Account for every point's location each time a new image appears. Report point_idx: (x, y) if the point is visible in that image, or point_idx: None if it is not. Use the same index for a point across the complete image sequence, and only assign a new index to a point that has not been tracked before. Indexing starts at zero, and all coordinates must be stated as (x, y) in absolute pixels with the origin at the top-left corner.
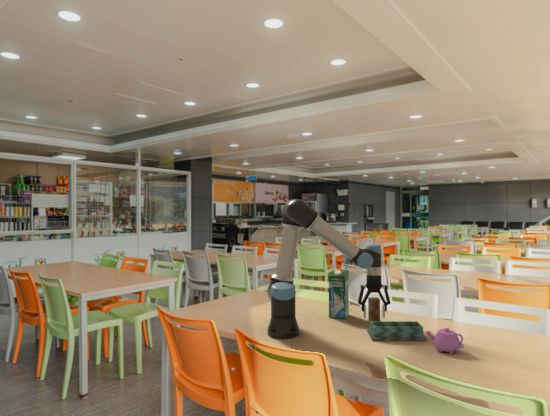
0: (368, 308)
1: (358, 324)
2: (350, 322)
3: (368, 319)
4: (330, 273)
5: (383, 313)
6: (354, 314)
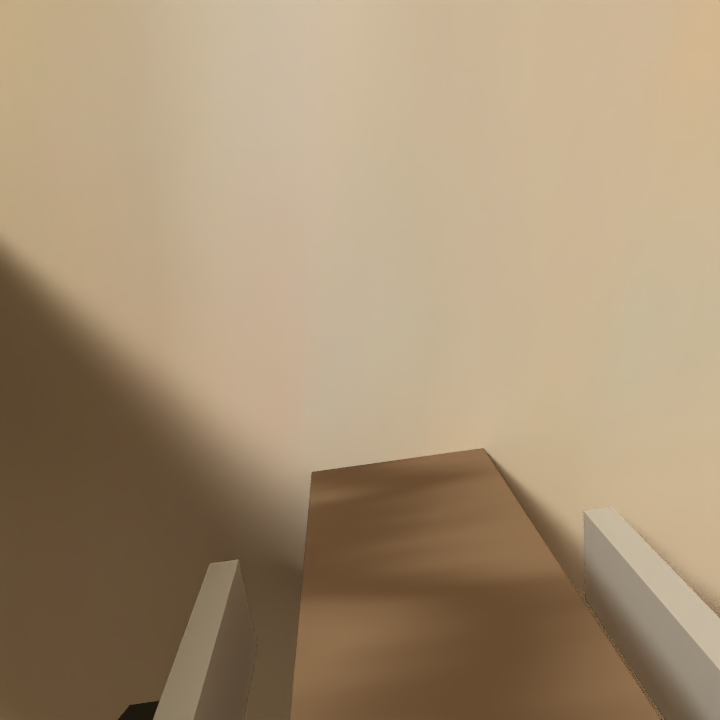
0: (301, 653)
1: None
2: (7, 641)
3: (312, 483)
4: None
5: (637, 676)
6: (6, 84)
